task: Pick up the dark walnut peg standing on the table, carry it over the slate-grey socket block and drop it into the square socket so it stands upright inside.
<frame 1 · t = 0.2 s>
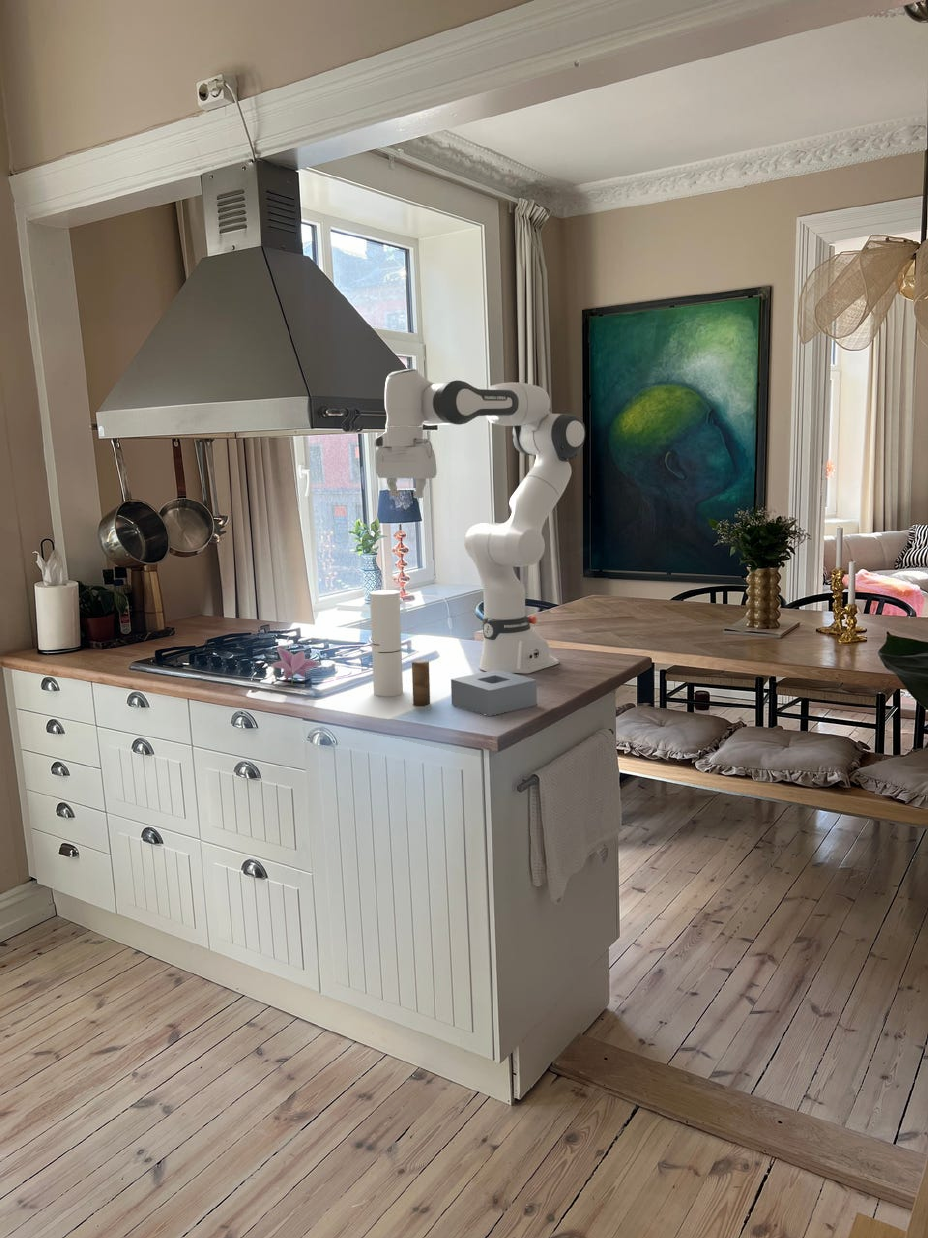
hand: (406, 497, 223), 47 cm above the counter, fingers open, 8 cm apart
cylindrical container: (388, 693, 228), on the counter
lily: (296, 683, 240), on the counter
walnut peg: (421, 704, 217), on the counter
socket block: (493, 704, 215), on the counter
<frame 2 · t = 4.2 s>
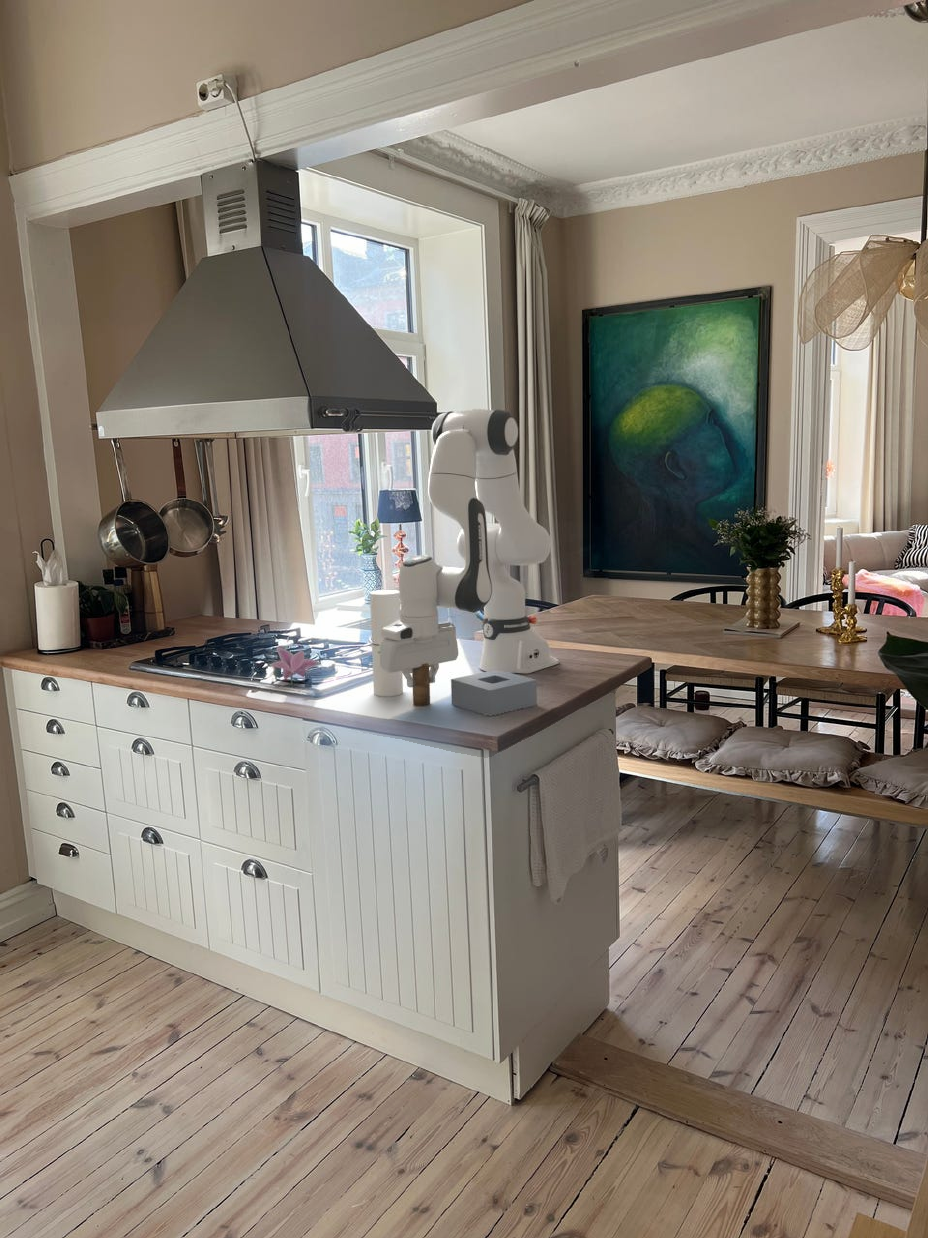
hand: (421, 684, 216), 5 cm above the counter, fingers closed on walnut peg, 4 cm apart
walnut peg: (421, 703, 217), on the counter, touching gripper
everything else where it was.
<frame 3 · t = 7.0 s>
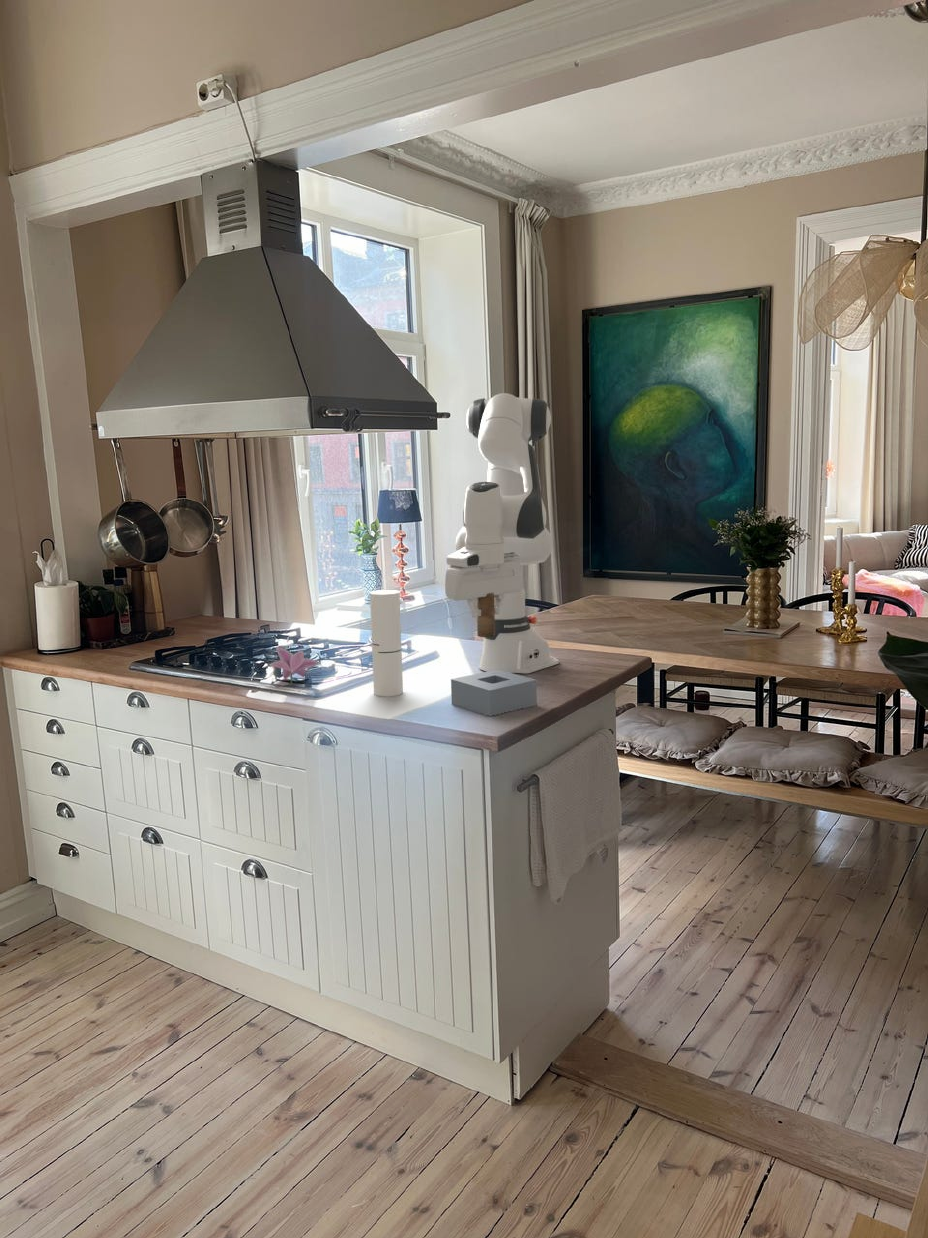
hand: (485, 615, 211), 21 cm above the counter, fingers closed on walnut peg, 4 cm apart
walnut peg: (486, 635, 212), point 16 cm above the counter, touching gripper
everything else where it was.
when the fingers open (8 cm above the counter, at t = 9.9 s): walnut peg drops 3 cm, resting in socket block.
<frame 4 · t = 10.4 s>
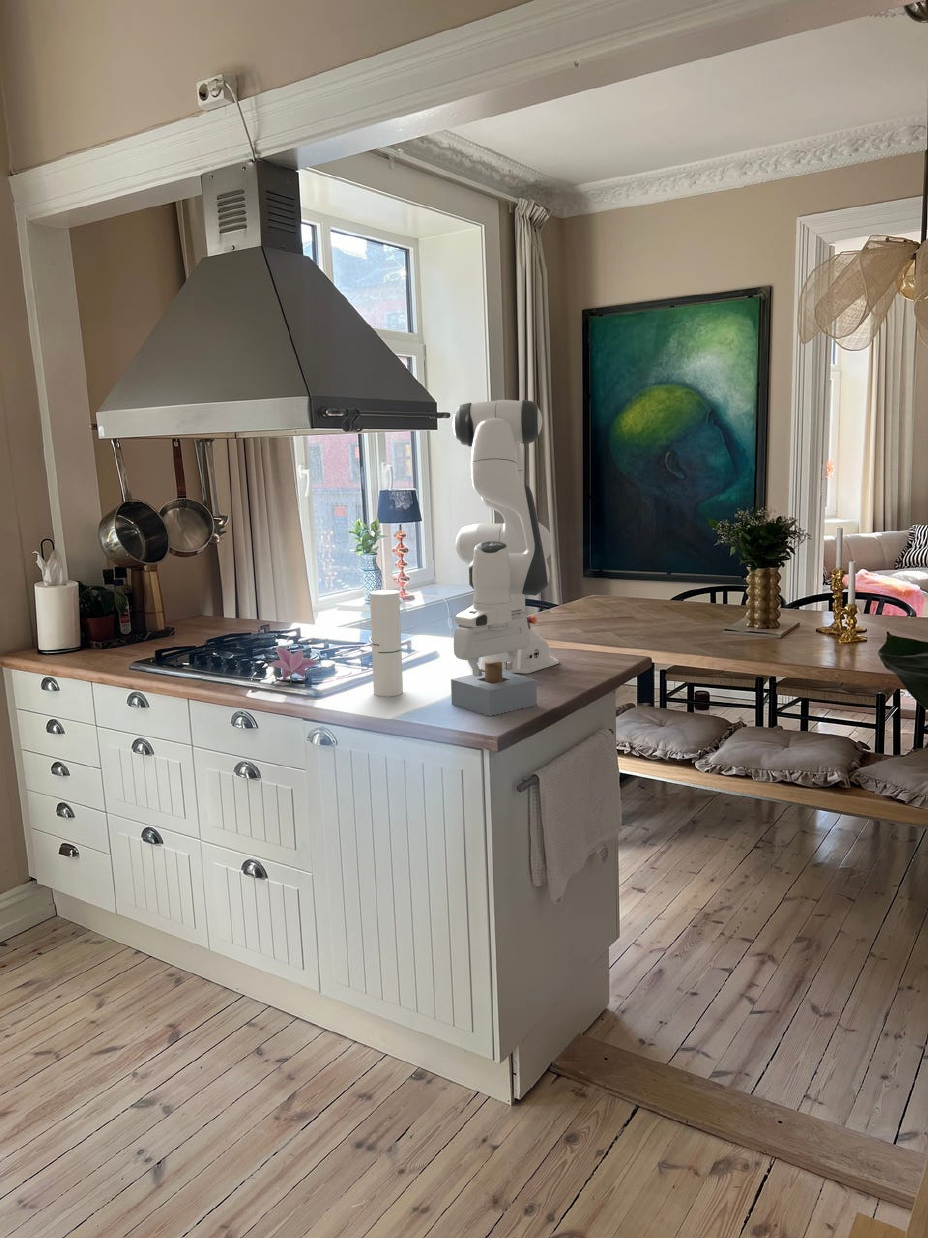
hand: (493, 672, 214), 8 cm above the counter, fingers open, 8 cm apart
walnut peg: (494, 704, 215), resting in socket block
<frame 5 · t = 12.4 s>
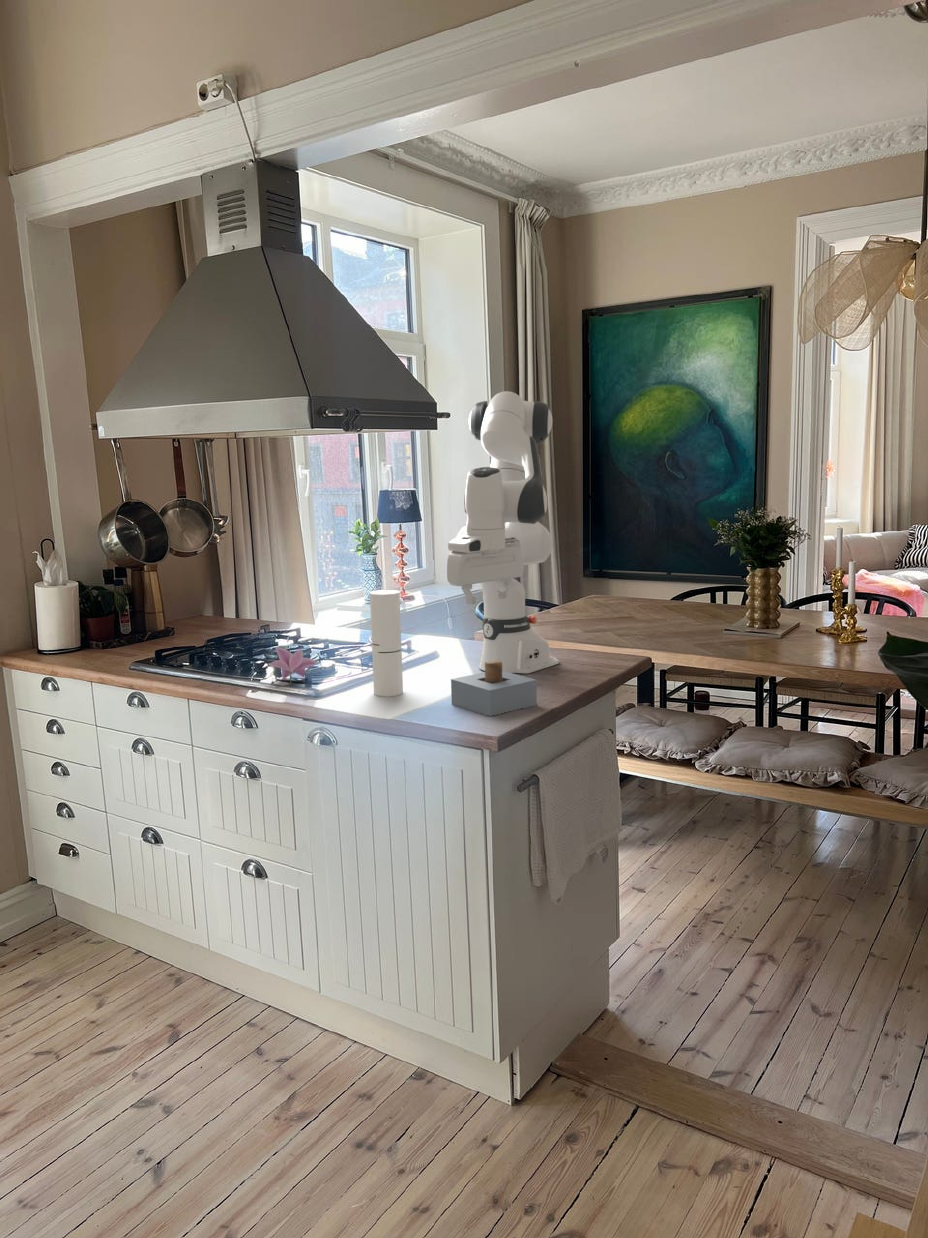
hand: (487, 600, 212), 24 cm above the counter, fingers open, 8 cm apart
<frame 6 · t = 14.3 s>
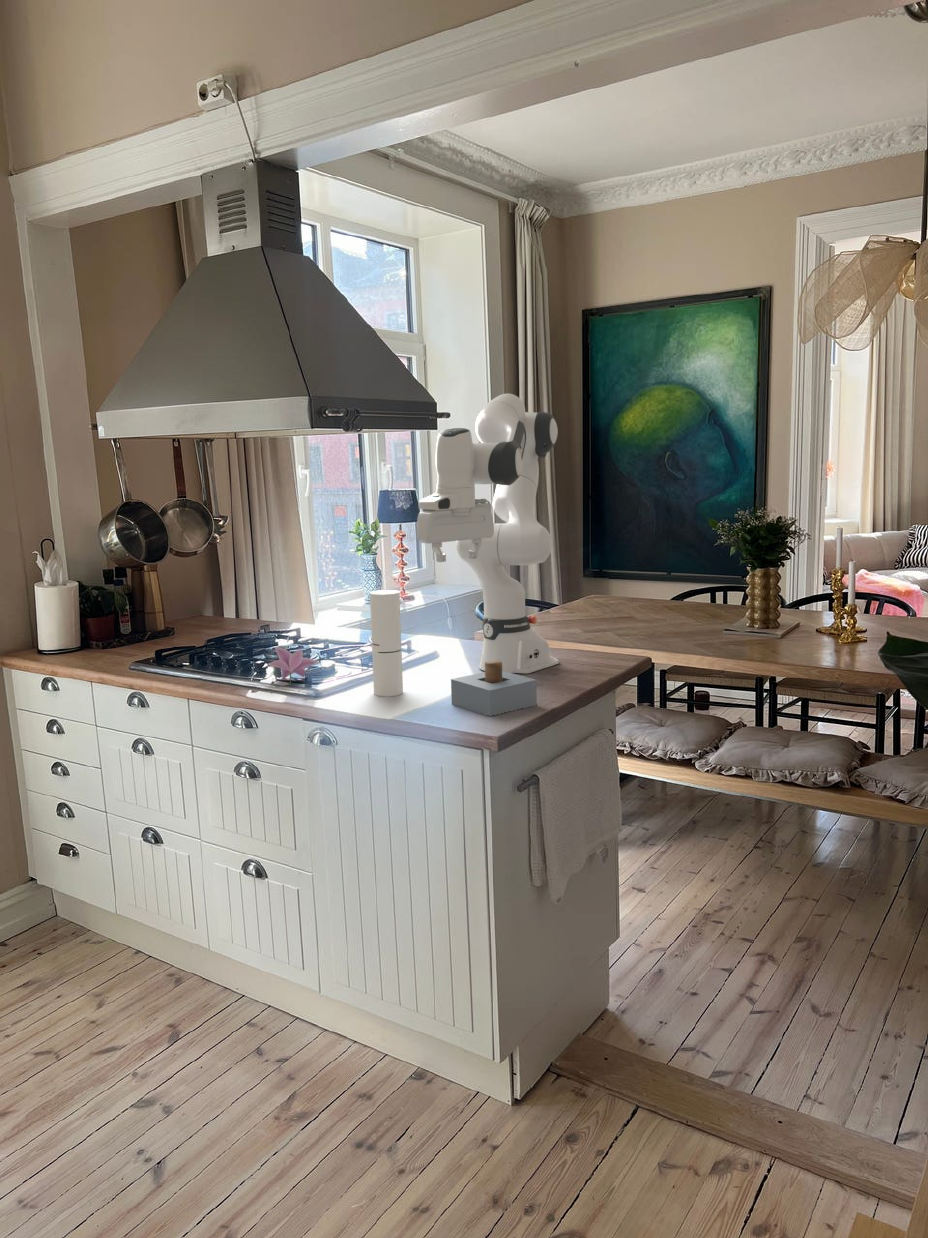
hand: (457, 560, 216), 33 cm above the counter, fingers open, 8 cm apart
at the end: walnut peg 0.1 cm off-centre on the socket block, point 0.0 cm above the socket block's base; walnut peg tilted 0°; the gripper is holding nothing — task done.
